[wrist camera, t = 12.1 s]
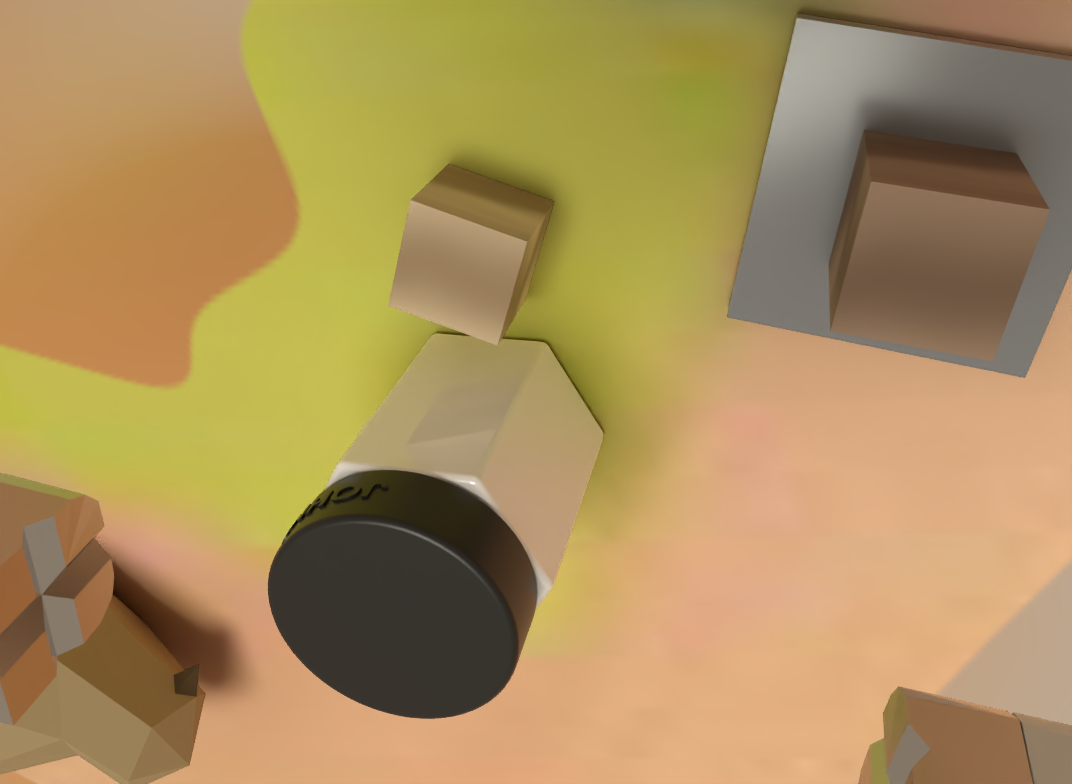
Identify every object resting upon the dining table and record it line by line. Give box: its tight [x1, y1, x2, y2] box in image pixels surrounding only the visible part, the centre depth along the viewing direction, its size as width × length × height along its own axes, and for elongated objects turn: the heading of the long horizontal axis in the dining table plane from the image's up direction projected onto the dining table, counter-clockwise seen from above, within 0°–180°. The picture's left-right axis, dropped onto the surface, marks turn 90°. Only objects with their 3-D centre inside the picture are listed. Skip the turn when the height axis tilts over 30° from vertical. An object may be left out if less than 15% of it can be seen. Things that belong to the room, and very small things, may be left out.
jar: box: [268, 333, 604, 719], centre depth 35 cm, size 9×8×12 cm
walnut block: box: [828, 130, 1050, 361], centre depth 29 cm, size 4×4×5 cm
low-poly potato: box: [0, 594, 205, 784], centre depth 48 cm, size 15×11×12 cm
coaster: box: [727, 13, 1072, 378], centre depth 31 cm, size 10×10×1 cm
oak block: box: [389, 164, 555, 346], centre depth 34 cm, size 4×4×4 cm
